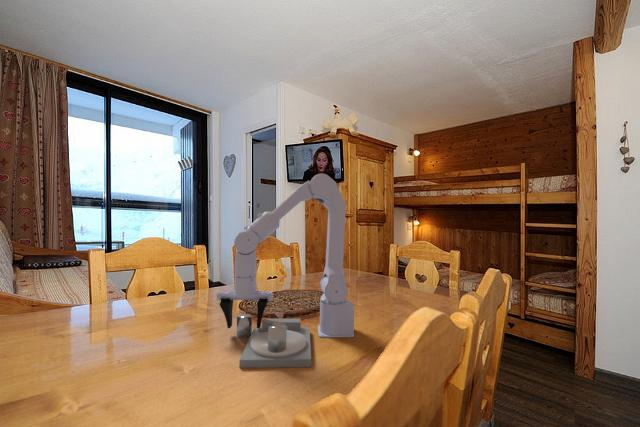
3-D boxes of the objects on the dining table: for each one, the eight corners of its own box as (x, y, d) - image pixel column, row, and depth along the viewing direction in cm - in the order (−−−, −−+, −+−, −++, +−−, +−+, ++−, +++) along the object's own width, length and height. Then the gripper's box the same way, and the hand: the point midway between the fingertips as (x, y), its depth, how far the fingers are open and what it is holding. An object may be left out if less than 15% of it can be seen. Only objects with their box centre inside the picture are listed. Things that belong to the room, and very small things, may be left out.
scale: (309, 332, 81) (309, 317, 81) (311, 367, 62) (311, 347, 62) (254, 332, 80) (254, 318, 80) (239, 367, 61) (239, 348, 61)
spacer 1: (253, 332, 80) (253, 313, 80) (250, 338, 76) (250, 318, 76) (238, 332, 80) (238, 313, 80) (234, 338, 76) (235, 318, 76)
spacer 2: (286, 344, 66) (287, 322, 67) (285, 352, 62) (286, 329, 63) (269, 344, 66) (269, 322, 66) (266, 352, 62) (267, 329, 62)
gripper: (274, 273, 83) (273, 321, 83) (222, 273, 82) (221, 321, 82) (271, 278, 76) (270, 331, 76) (214, 278, 75) (213, 331, 75)
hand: (244, 326), depth 78 cm, fingers open, 7 cm apart
